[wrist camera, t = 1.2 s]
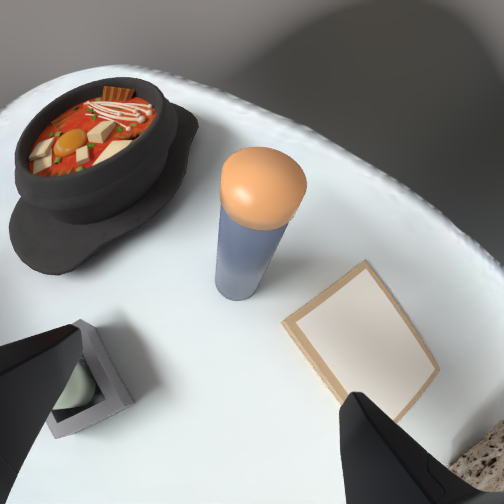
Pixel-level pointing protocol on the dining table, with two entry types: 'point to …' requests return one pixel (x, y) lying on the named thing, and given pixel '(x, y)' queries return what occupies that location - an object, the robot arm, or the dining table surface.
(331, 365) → the sketch pad
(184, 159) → the casserole
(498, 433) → the pumice stone
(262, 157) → the toy microphone
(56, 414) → the gray square hollow block
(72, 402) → the button
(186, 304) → the dining table surface
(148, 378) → the dining table surface
